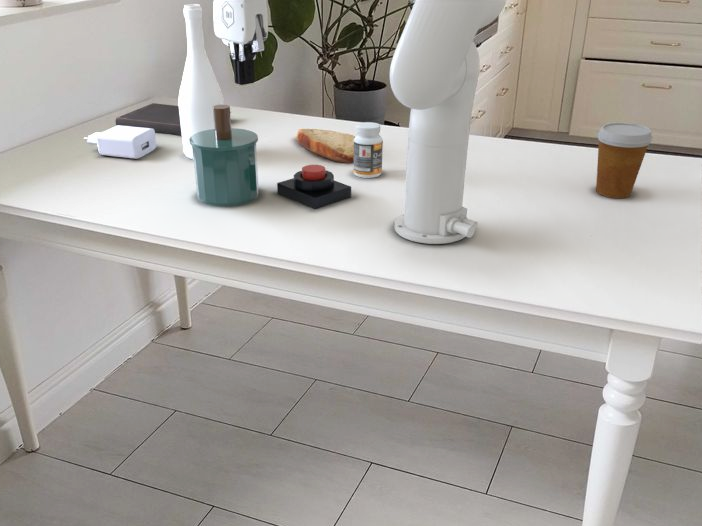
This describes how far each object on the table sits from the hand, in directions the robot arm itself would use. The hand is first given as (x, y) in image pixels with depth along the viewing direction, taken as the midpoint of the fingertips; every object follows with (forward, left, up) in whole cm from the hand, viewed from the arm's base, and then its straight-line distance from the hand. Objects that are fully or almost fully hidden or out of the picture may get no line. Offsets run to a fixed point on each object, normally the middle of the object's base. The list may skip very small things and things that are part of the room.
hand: (244, 83), depth 132 cm
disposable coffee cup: (-45, -52, -21) cm, 72 cm away
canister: (+3, +3, -21) cm, 21 cm away
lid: (+3, +3, -10) cm, 11 cm away
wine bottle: (+27, -8, -21) cm, 35 cm away
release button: (-8, -9, -17) cm, 21 cm away
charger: (+43, +5, -21) cm, 48 cm away
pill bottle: (-6, -25, -21) cm, 33 cm away
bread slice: (+12, -30, -21) cm, 38 cm away
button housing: (-8, -9, -21) cm, 24 cm away
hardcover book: (+53, -16, -21) cm, 59 cm away
